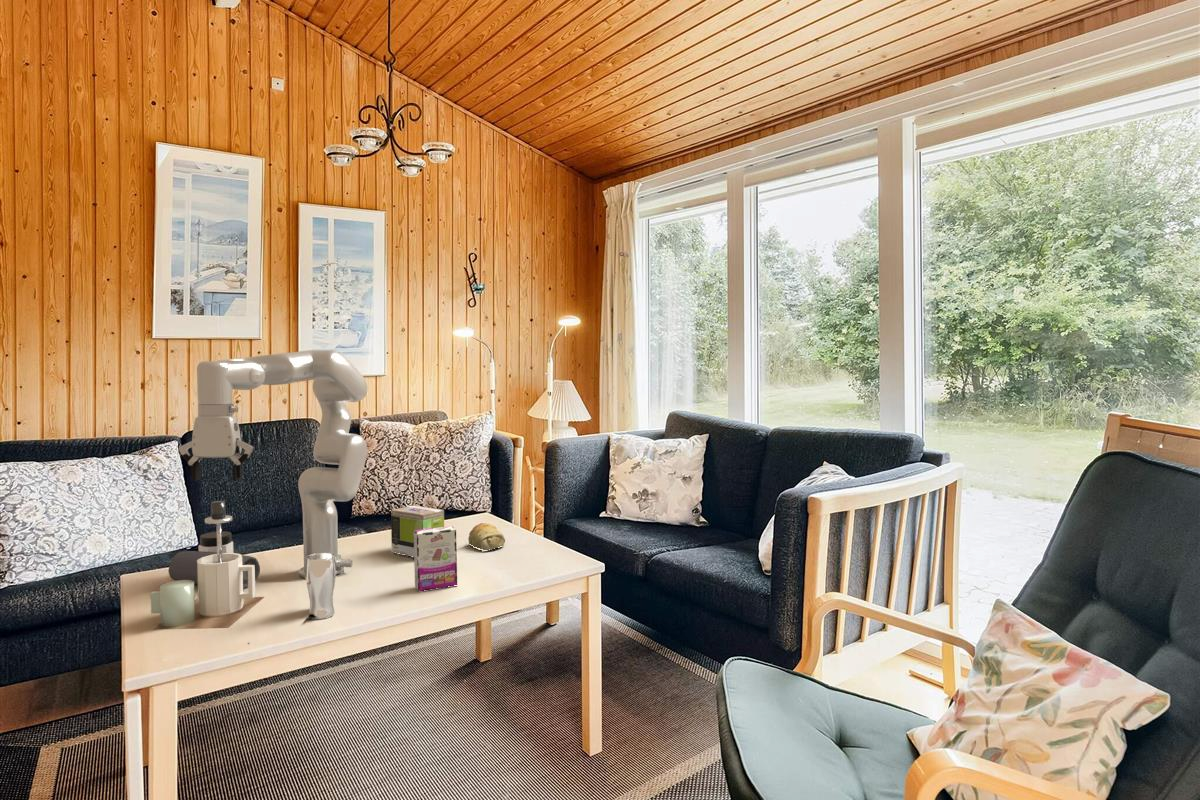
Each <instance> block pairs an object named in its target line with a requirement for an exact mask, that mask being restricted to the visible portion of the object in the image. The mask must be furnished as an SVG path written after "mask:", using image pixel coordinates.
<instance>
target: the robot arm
mask: <svg viewBox="0 0 1200 800" xmlns="http://www.w3.org/2000/svg"><path fill="white" fill-rule="evenodd" d="M196 379H197V380H196V381H197V382H196V385H197V390H196V391H197V393H196V394H197V417H196V416H195V417H194V422H193V428H192V434H191V435H192V438H191V440H190V441H189V442H187V443H184V444H183V445H180V446H179V447H178V451H179V452H180V454H181V455H182V459H183V460H185V462H187V464H188V466H190V478H191V481H192V482H193V483H194V482H197V481H200V480H202V465H201V463H200V461H201V460H202V459H205V458H206V459H207V458H208V459H209V458H210V459H219V458H224V459H226V458H229V459H230V460H231V461H232V462H233V463H234V464H233V465H232V481H233V482H239V481H241V480H242V478H243V476H244V468H243V467H244V465H243V464H245V462H246V461H247V460H248V459H249V458H250V457H251V455H252V453H253V451H254V448H255V447H254V446H253V445H251V444H248V443H247V442H245V441H242V438H241V431H240V425H239V421H238V418H237V416H234V414H235V413H238V412H239V406H235V405H234V404H235V403H233V391H234V390H237V391H238V390H239V391H250V390H256V389H257V388H259V387H261V386H263V385H264V386H266V385H267V386H274V385H275V386H277V385H278V386H280V385H288V384H293V383H299V382H307V381H312V391H313V394H314V396H315V398H316V399H317V402H318V404H319V406H320V409H321V419H320V423H319V426H318V427H319V428H318V431H317V434H316V439H315V442H314V445H313V451H312V452H313V453H312V454H313V458H314V459H315V461H317V462H318V463H321V464H325V465H326V464H327V465H338V467H337V468H336V467H323V466H315V467H310V468H307V469H305V470H304V471H303V472H302V473H301V474H300V476H299V478H298V482H297V483H298V484H297V485H298V492H299V496H300V502H301V509H302V532H303V533H302V535H303V538H302V539H303V541H302V542H303V566H302V567H301V568H299V570H297V571H298V573H297V574H298V577H300V578H304V579H306V557H307V556H309V555H311V554H315V553H324V552H326V553H333V554H334V555H335V566H336V576H337V574H338V575H340V574H341V573H343V571H344V570H345V568H352V567H353V560H351V558H346V559H343V558H342V554H339V541H338V539H339V537H338V536H339V535H338V534H339V533H338V510H337V507H336V505H335V503H334V502H349V501H351V500H352V499H354V497H355V496H356V495H357V493H358V491H359V488H360V484H361V481H362V480H361V479H362V477H363V472H364V468H365V464H366V461H367V455H368V446H367V443H366V440H365V438H364V437H362V436H361V435H359V434H357V433H349V432H350V429H351V424H352V417H351V413H350V410H349V408H348V405H346V402H347V403H358V402H360V401H363V400H364V399H365V397H366V396H367V393H368V383H367V381H366V378H365V377H364V375H363V374H362V373H361V372H360V371H359V370H358V369H357V368H356V367H355V366H354V364H353V363H352V362H351V361H350V360H349V359H348V358H347V357H346V356H345V355H343V354H342V353H341V352H340V351H336V350H333V349H331V350H330V349H328V350H327V349H326V350H325V349H324V350H322V349H319V350H318V349H316V350H313V349H312V350H311V349H310V350H302V351H293V352H282V353H273V354H271V353H270V354H265V355H257V356H248V357H247V356H246V357H237V358H236V357H235V358H227V359H220V360H219V359H218V360H213V361H212V360H204V361H201V362H200V361H199V363H198V364H197V366H196ZM189 449H191V453H192V454H191V453H190V452H189ZM242 449H243V450H244V452H243V454H242V455H241V453H242Z"/></svg>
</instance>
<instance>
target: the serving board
mask: <svg viewBox="0 0 1200 800" xmlns="http://www.w3.org/2000/svg"><path fill="white" fill-rule="evenodd" d="M264 598H265V596H255V597H254V598H247V599H243V608H242V609H241V610H240V611H238V612H235V613H233V614H229V615H225V616H218V617H204V616H201V615H199V609H198V597H197V598H195V621H193V622H192V623H190V624H187V625H184V626H179V627H163V626H161V623H159V624H158V625H156V626H155V627H154V628H152V630H187V629H188V630H193V629H195V630H197V629H198V630H199V629H229V628H230V627H231V626H233V625H234V624H235V623H236V622H237V621H239V620H240V619H241V618H243V616H244V615H246V613H248V612H249V611H250V610H251V609H252V608H254V607H255V606H256V605H257V604H258V603H259V602H261V601H262V600H263V599H264Z"/></svg>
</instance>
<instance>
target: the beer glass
mask: <svg viewBox="0 0 1200 800" xmlns="http://www.w3.org/2000/svg"><path fill="white" fill-rule="evenodd" d="M336 576H337V575H336V566H335V555H334V554H333V553H326V552H324V553H315V554H311V555H309V556H307V557H306V578H305V583H306V588H307V592H308V598H309V609H308V613H309V614H308V618H309V619H310V620H325V619H328V618H332V617H333V616H334V615H335V607H334V601H333V600H334V598H333V596H334V590H335V585H336V584H335V583H336Z"/></svg>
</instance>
